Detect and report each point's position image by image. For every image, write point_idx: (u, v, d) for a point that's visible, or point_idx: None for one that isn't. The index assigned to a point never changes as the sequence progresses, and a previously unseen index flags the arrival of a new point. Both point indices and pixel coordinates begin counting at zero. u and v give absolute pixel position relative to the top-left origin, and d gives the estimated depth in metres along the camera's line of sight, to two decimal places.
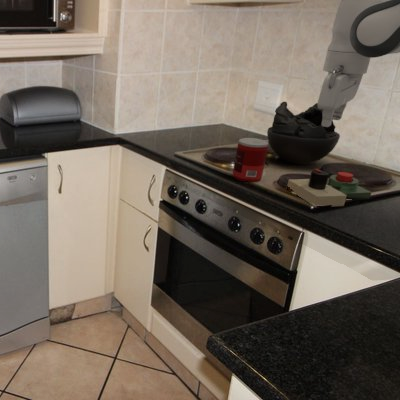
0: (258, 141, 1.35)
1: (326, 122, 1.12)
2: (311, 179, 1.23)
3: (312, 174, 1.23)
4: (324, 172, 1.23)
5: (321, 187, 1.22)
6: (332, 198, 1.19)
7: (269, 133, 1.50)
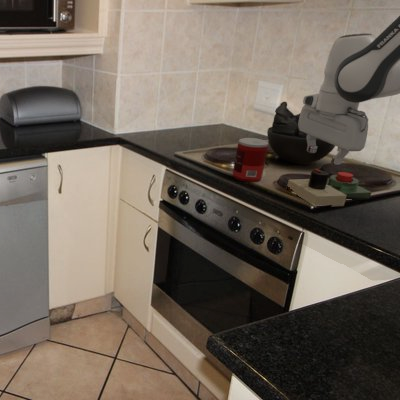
0: (258, 141, 1.35)
1: (339, 160, 1.16)
2: (311, 179, 1.23)
3: (312, 174, 1.23)
4: (324, 172, 1.23)
5: (321, 187, 1.22)
6: (332, 198, 1.19)
7: (269, 133, 1.50)
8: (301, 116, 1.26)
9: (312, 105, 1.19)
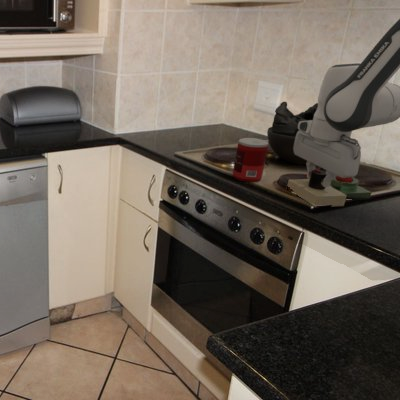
0: (258, 141, 1.35)
1: (327, 183, 1.20)
2: (311, 179, 1.23)
3: (312, 174, 1.23)
4: (324, 172, 1.23)
5: (321, 187, 1.22)
6: (332, 198, 1.19)
7: (269, 133, 1.50)
8: (296, 141, 1.28)
9: (306, 131, 1.22)
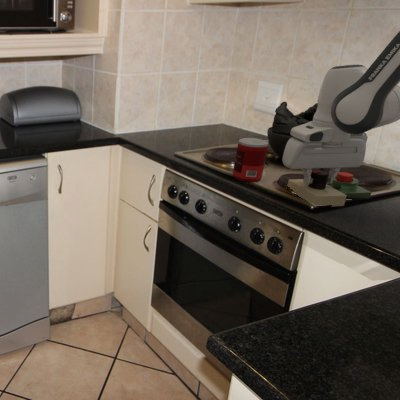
0: (258, 141, 1.35)
1: None
2: (323, 181, 1.22)
3: (324, 176, 1.21)
4: (318, 171, 1.24)
5: None
6: (332, 198, 1.19)
7: (269, 133, 1.50)
8: (297, 154, 1.18)
9: (324, 140, 1.15)
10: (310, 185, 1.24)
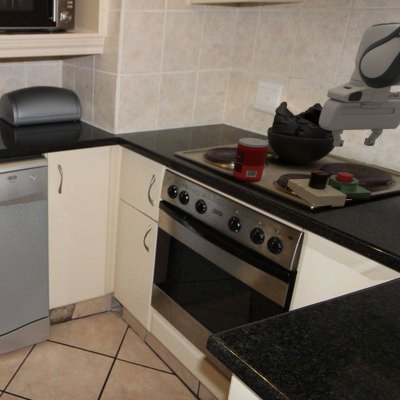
0: (258, 141, 1.35)
1: None
2: (323, 181, 1.22)
3: (324, 176, 1.21)
4: (318, 171, 1.24)
5: None
6: (332, 198, 1.19)
7: (269, 133, 1.50)
8: (335, 115, 1.17)
9: (363, 100, 1.15)
10: (310, 185, 1.24)
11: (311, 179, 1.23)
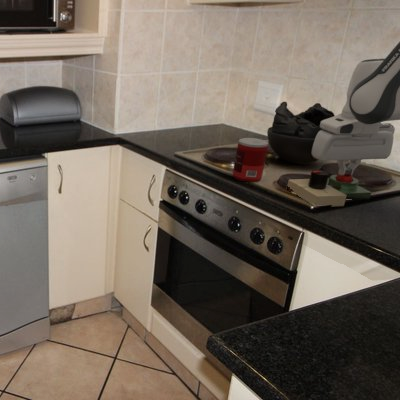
0: (258, 141, 1.35)
1: None
2: (323, 181, 1.22)
3: (324, 176, 1.21)
4: (318, 171, 1.24)
5: None
6: (332, 198, 1.19)
7: (269, 133, 1.50)
8: (327, 146, 1.21)
9: (354, 132, 1.18)
10: (310, 185, 1.24)
11: (311, 179, 1.23)
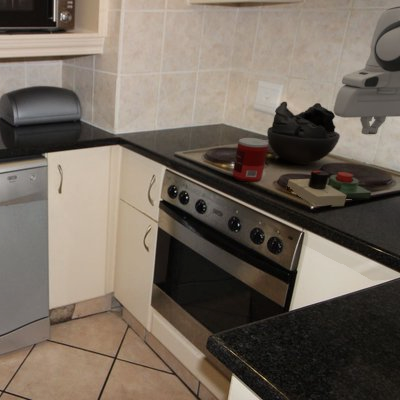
0: (258, 141, 1.35)
1: None
2: (323, 181, 1.22)
3: (324, 176, 1.21)
4: (318, 171, 1.24)
5: None
6: (332, 198, 1.19)
7: (269, 133, 1.50)
8: (351, 101, 1.14)
9: (379, 85, 1.12)
10: (310, 185, 1.24)
11: (311, 179, 1.23)
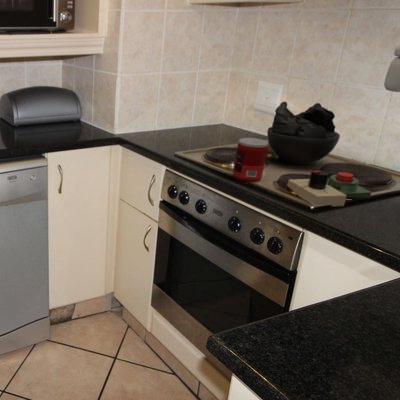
0: (258, 141, 1.36)
1: None
2: (323, 181, 1.22)
3: (324, 176, 1.21)
4: (318, 171, 1.24)
5: None
6: (332, 198, 1.19)
7: (269, 133, 1.50)
8: None
9: None
10: (310, 185, 1.24)
11: (311, 179, 1.23)
